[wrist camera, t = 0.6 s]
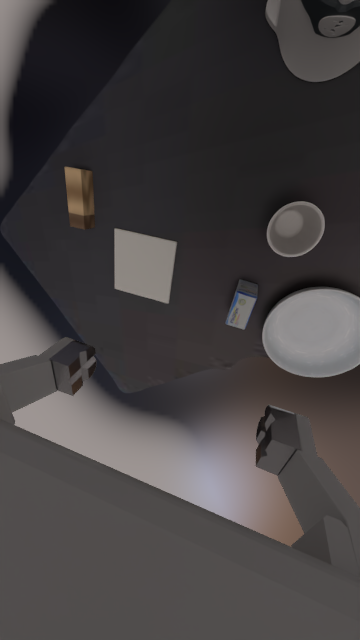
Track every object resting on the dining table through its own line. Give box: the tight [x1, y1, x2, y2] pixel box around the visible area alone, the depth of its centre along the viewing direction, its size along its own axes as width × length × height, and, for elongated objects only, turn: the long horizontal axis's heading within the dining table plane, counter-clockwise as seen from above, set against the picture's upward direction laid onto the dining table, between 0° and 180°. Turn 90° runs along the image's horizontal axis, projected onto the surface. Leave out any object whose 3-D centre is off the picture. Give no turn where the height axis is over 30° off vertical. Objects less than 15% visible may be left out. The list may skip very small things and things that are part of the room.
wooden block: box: [65, 167, 95, 229], centre depth 53 cm, size 12×4×4 cm, turn 171°
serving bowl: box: [262, 287, 360, 377], centre depth 50 cm, size 21×21×7 cm
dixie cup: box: [267, 201, 325, 257], centre depth 41 cm, size 8×8×10 cm
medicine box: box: [225, 279, 258, 329], centre depth 51 cm, size 8×4×9 cm, turn 169°
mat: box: [115, 228, 177, 303], centre depth 58 cm, size 16×16×1 cm
